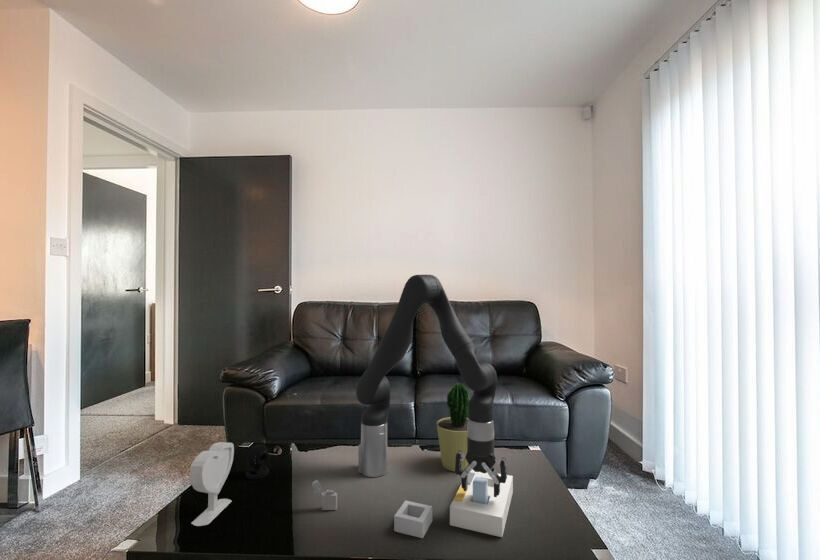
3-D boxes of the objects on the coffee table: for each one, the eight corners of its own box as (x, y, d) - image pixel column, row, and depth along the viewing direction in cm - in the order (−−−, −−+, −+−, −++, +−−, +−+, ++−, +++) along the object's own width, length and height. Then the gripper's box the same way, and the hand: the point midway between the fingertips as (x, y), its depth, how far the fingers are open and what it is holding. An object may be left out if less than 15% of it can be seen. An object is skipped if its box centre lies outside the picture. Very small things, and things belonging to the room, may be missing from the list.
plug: (472, 518, 108) (472, 482, 108) (475, 511, 111) (475, 476, 111) (485, 521, 106) (485, 484, 106) (487, 514, 110) (487, 478, 110)
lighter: (337, 507, 113) (337, 479, 113) (336, 510, 111) (336, 482, 111) (313, 507, 113) (313, 479, 113) (311, 510, 111) (311, 482, 111)
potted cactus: (449, 452, 151) (449, 375, 152) (485, 462, 142) (486, 381, 143) (428, 466, 139) (428, 383, 140) (466, 479, 130) (466, 389, 131)
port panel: (449, 525, 104) (449, 504, 105) (469, 483, 127) (469, 467, 127) (502, 537, 99) (502, 516, 100) (512, 491, 122) (512, 474, 122)
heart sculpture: (203, 528, 102) (205, 460, 103) (186, 527, 103) (187, 459, 103) (235, 497, 118) (236, 438, 118) (220, 496, 118) (221, 437, 119)
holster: (394, 531, 102) (394, 515, 102) (405, 514, 109) (405, 500, 109) (422, 538, 99) (422, 522, 99) (432, 520, 106) (432, 506, 106)
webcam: (254, 482, 127) (255, 451, 127) (240, 476, 131) (241, 446, 131) (274, 472, 134) (274, 443, 134) (260, 467, 138) (260, 439, 138)
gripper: (452, 436, 108) (452, 494, 108) (504, 443, 103) (504, 505, 103) (459, 427, 115) (459, 482, 115) (507, 433, 110) (508, 491, 110)
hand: (480, 492), depth 109 cm, fingers open, 8 cm apart
